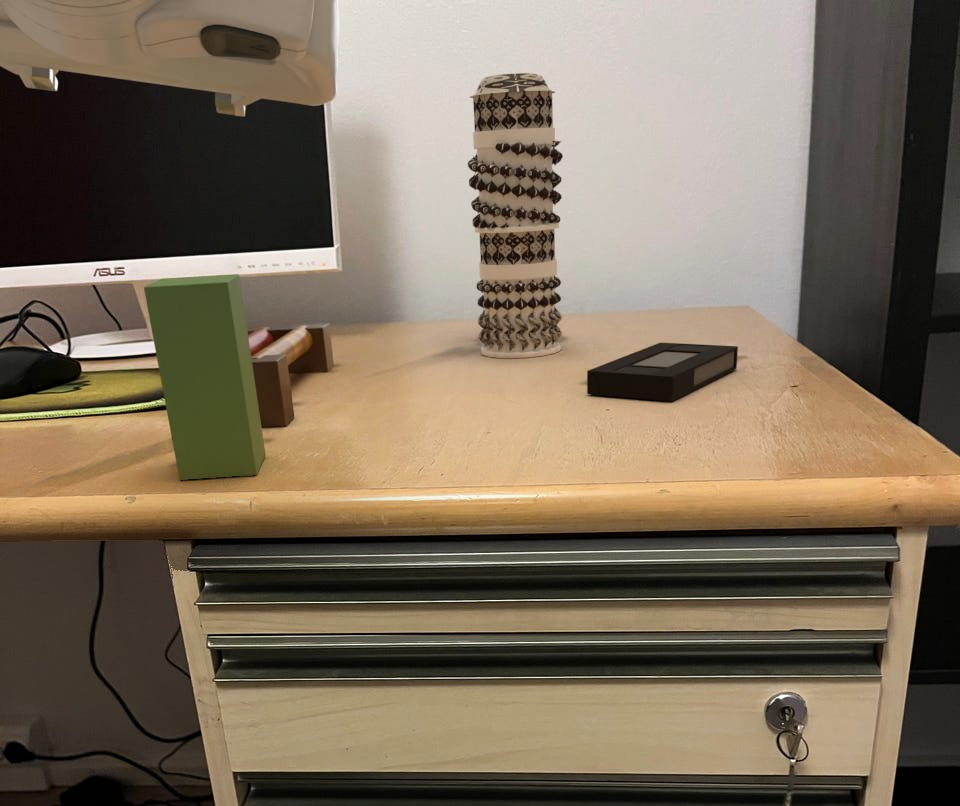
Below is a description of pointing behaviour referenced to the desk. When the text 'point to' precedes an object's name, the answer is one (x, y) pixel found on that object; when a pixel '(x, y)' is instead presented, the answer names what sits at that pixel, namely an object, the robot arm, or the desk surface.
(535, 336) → the decorative candle
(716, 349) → the vhs tape
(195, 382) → the bar
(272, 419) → the rack
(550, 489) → the desk surface
